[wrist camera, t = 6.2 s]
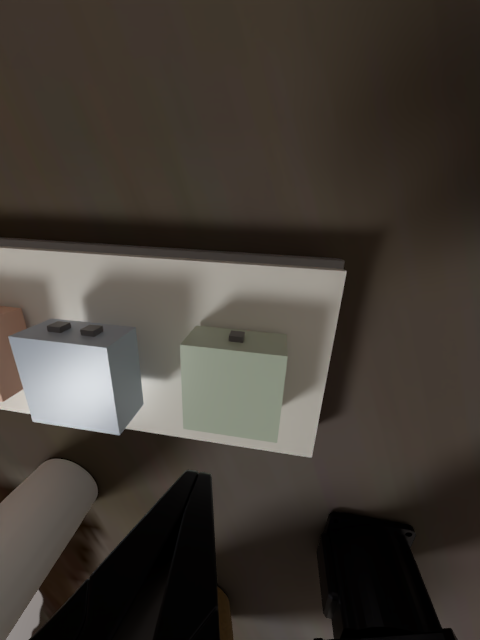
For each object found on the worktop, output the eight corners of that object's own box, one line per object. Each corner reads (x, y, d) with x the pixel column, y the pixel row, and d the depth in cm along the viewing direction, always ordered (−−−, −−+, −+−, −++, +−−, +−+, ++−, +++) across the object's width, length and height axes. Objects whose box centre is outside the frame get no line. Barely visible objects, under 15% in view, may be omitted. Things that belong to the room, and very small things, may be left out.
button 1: (287, 329, 14) (288, 350, 12) (277, 410, 16) (277, 442, 13) (196, 320, 14) (179, 338, 12) (197, 399, 16) (183, 428, 14)
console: (337, 256, 15) (348, 263, 12) (308, 429, 19) (311, 457, 17) (-52, 232, 18) (-102, 234, 16) (-2, 385, 22) (-35, 403, 20)
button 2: (135, 321, 14) (105, 341, 12) (143, 404, 16) (119, 435, 13) (50, 313, 14) (6, 330, 12) (68, 393, 16) (32, 421, 14)
